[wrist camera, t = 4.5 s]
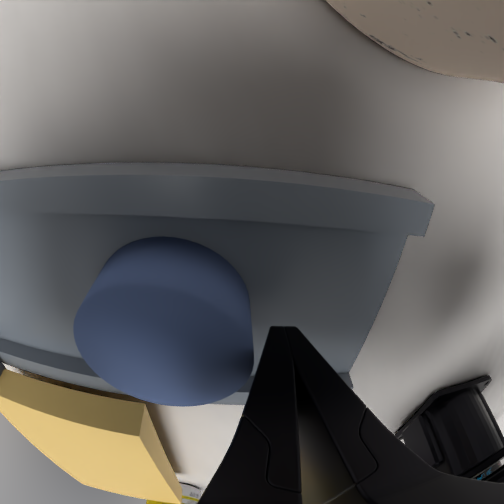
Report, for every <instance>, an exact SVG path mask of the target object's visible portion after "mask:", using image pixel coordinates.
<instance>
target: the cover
mask: <svg viewBox="0 0 504 504" xmlns="http://www.w3.org/2000/svg"><path fill="white" fill-rule="evenodd" d="M0 412H1V413H2V414H3V415H4V416H5V417H6V418H7V419H8V421H9V422H10V423H11V424H12V425H13V426H14V427H15V428H16V429H17V430H18V431H20V433H21V434H22V435H23V436H25V437H26V438H27V439H28V440H29V441H30V442H31V443H32V444H33V445H34V446H35V447H36V448H38V449H39V450H40V451H41V452H42V453H43V454H44V455H46V456H47V457H48V458H49V459H51V460H52V461H53V462H54V463H55V464H57V465H58V466H59V467H60V468H62V469H63V470H64V471H66V472H67V473H69V474H70V475H71V476H72V477H74V478H75V479H76V480H78V481H79V482H81V483H82V484H84V485H88V486H91V487H94V488H98V489H101V490H105V491H109V492H114V493H117V494H122V495H127V496H131V497H136V498H142V499H147V500H153V501H160V502H167V503H175V504H182V487H181V485H180V483H179V481H178V479H177V477H176V475H175V473H174V471H173V469H172V467H171V465H170V463H169V461H168V458H167V456H166V454H165V452H164V449H163V447H162V445H161V443H160V440H159V438H158V435H157V433H156V431H155V428H154V426H153V423H152V421H151V418H150V415H149V413H148V410H147V407H146V405H145V403H138V402H132V401H125V400H120V399H114V398H109V397H104V396H99V395H94V394H89V393H85V392H81V391H76V390H72V389H68V388H65V387H61V386H57V385H53V384H50V383H46V382H43V381H40V380H37V379H33V378H30V377H27V376H24V375H21V374H18V373H15V372H13V371H10V370H7V369H6V368H5V366H4V365H3V364H2V363H1V362H0Z"/></svg>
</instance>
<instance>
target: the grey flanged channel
mask: <svg viewBox="0 0 504 504" xmlns="http://www.w3.org/2000/svg"><path fill="white" fill-rule="evenodd" d="M434 205H435V204H434V203H432V202H431V201H429V200H428V199H427V198H425V197H424V196H422V195H421V194H419V193H418V192H416V191H415V190H414V189H409V188H404V187H398V186H393V185H388V184H382V183H376V182H370V181H364V180H358V179H352V178H345V177H338V176H331V175H324V174H316V173H308V172H299V171H290V170H281V169H270V168H259V167H247V166H233V165H216V164H195V163H156V162H127V163H89V164H70V165H54V166H42V167H31V168H21V169H12V170H4V171H0V362H2V363H5V364H7V365H10V366H13V367H16V368H19V369H22V370H25V371H28V372H31V373H35V374H38V375H41V376H45V377H48V378H52V379H55V380H59V381H63V382H67V383H71V384H75V385H79V386H84V387H88V388H93V389H98V390H103V391H108V392H113V393H119V394H125V395H128V394H126V393H124V392H122V391H120V390H118V389H116V388H115V387H113V386H112V385H110V384H109V383H107V382H106V381H105V380H103V379H102V378H101V377H99V376H98V375H97V374H96V373H95V372H94V371H93V370H92V369H91V368H90V367H89V365H88V364H87V363H86V362H85V360H84V359H83V357H82V356H81V354H80V352H79V350H78V348H77V345H76V343H75V338H74V332H73V325H74V319H75V316H76V313H77V311H78V309H79V307H80V306H81V304H82V302H83V300H84V299H85V297H86V295H87V293H88V292H89V290H90V288H91V286H92V285H93V283H94V281H95V280H96V278H97V276H98V275H99V273H100V271H101V270H102V268H103V267H104V265H105V263H106V262H107V261H108V259H109V258H110V257H111V256H112V255H113V254H114V253H115V252H116V251H117V250H119V249H120V248H121V247H123V246H125V245H127V244H129V243H131V242H133V241H136V240H139V239H143V238H149V237H162V236H165V237H176V238H181V239H186V240H189V241H192V242H195V243H198V244H201V245H203V246H205V247H207V248H209V249H211V250H213V251H214V252H216V253H218V254H219V255H220V256H222V257H223V258H224V259H225V260H227V261H228V262H229V263H230V264H231V265H232V266H233V267H234V268H235V269H236V271H237V272H238V273H239V275H240V276H241V278H242V280H243V281H244V283H245V285H246V288H247V291H248V294H249V299H250V310H251V322H252V335H253V347H254V366H253V371H252V373H251V375H250V377H249V379H248V380H247V382H246V383H245V384H244V385H243V386H242V387H241V388H240V389H239V390H238V391H236V392H235V393H233V394H232V395H230V396H228V397H226V398H224V399H221V400H219V401H216V402H213V403H209V404H228V405H245V404H246V401H247V398H248V395H249V392H250V389H251V386H252V383H253V379H254V376H255V373H256V370H257V367H258V364H259V361H260V358H261V354H262V351H263V348H264V345H265V341H266V338H267V335H268V332H269V328H270V327H271V326H283V327H284V326H296V327H297V328H298V329H299V330H300V331H301V332H302V333H303V334H304V336H305V337H306V338H307V339H308V340H309V341H310V343H311V344H312V345H313V346H314V347H315V348H316V349H317V351H318V352H319V353H320V354H321V355H322V356H323V357H324V359H325V360H326V361H327V362H328V363H329V364H330V365H331V367H332V368H333V369H334V370H335V371H336V372H337V373H338V375H339V376H340V377H341V378H342V379H343V380H344V381H345V383H346V384H347V385H348V386H349V387H350V388H351V389H353V384H352V381H351V378H350V375H349V371H350V369H351V367H352V366H353V364H354V362H355V360H356V358H357V356H358V354H359V352H360V350H361V348H362V346H363V344H364V342H365V340H366V338H367V335H368V333H369V331H370V329H371V327H372V325H373V323H374V320H375V318H376V316H377V314H378V311H379V309H380V307H381V304H382V302H383V300H384V297H385V295H386V292H387V290H388V288H389V285H390V283H391V280H392V277H393V275H394V272H395V270H396V267H397V264H398V262H399V259H400V256H401V253H402V251H403V248H404V245H405V242H406V239H407V236H408V235H414V236H423V237H424V236H425V233H426V230H427V227H428V224H429V221H430V218H431V215H432V212H433V209H434Z"/></svg>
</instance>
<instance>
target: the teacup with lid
mask: <svg viewBox="0 0 504 504" xmlns="http://www.w3.org/2000/svg"><path fill="white" fill-rule="evenodd" d="M326 1H327V2H328V3H329V4H330V5H331V6H332V7H333V8H334V9H335V10H336V11H337V12H338V13H339V14H340V15H342V16H343V17H344V18H345V19H346V20H347V21H348V22H350V23H351V24H352V25H353V26H355V27H356V28H357V29H358V30H360V31H361V32H362V33H364V34H365V35H366V36H368V37H369V38H370V39H372V40H373V41H375V42H376V43H378V44H379V45H381V46H382V47H384V48H385V49H387V50H388V51H390V52H392V53H394V54H395V55H397V56H399V57H400V58H402V59H404V60H406V61H408V62H410V63H412V64H414V65H417V66H419V67H421V68H424V69H426V70H429V71H432V72H435V73H439V74H443V75H447V76H453V77H460V78H471V79H480V80H488V81H495V82H501V83H504V0H326Z"/></svg>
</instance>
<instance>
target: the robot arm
mask: <svg viewBox="0 0 504 504" xmlns="http://www.w3.org/2000/svg"><path fill="white" fill-rule="evenodd" d="M491 380H492V379H491V377H490V376H489V375H488V376H485V377H482V378H479V379H476V380H473V381H470V382H467V383H464V384H461V385H457V386H454V387H450V388H447V389H443V390H440V391H437V392H436V393H434V394H433V395H432V396H431V397H430V398H429V399H428V400H427V402H426V403H425V404H424V405H423V406H422V407H421V408H420V409H419V411H418V412H417V413H416V414H415V415H414V416H413V417H412V418H411V419H410V420H409V421H408V422H407V423H406V424H405V425H404V426H403V427H402V428H401V429H400V430H399V431H398V432H397V433H396V434H395V435H394V434H393V433H392V432H390V431H389V430H388V429H387V428H386V427H385V426H384V425H383V424H382V423H381V421H380V420H379V419H378V418H377V417H376V416H375V415H374V414H373V413H372V412H371V411H370V409H369V408H366V405H365V404H364V403H363V402H362V401H361V400H360V398H359V397H358V396H357V395H356V394H355V393H354V392H353V390H352V389H351V388H350V387H349V386H348V385H347V384H346V383H345V381H344V380H343V379H342V378H341V377H340V376H339V375H338V373H337V372H336V371H335V370H334V369H333V368H332V367H331V365H330V364H329V363H328V362H327V361H326V360H325V359H324V357H323V356H322V355H321V354H320V353H319V352H318V351H317V349H316V348H315V347H314V346H313V345H312V344H311V343H310V341H309V340H308V339H307V338H306V337H305V336H304V334H303V333H302V332H301V331H300V330H299V329H298V328H297V327H296V326H284V327H283V326H271V327H270V328H269V332H268V335H267V338H266V341H265V345H264V348H263V351H262V354H261V358H260V361H259V364H258V367H257V370H256V373H255V376H254V379H253V383H252V386H251V389H250V392H249V395H248V398H247V401H246V404H245V407H244V410H243V413H242V417H241V418H240V421H239V424H238V427H237V430H236V432H235V435H234V437H233V440H232V442H231V445H230V447H229V449H228V451H227V453H226V454H225V456H224V458H223V460H222V462H221V464H220V466H219V467H218V469H217V471H216V473H215V474H214V476H213V478H212V479H211V481H210V483H209V484H208V486H207V488H206V489H205V491H204V493H203V494H202V496H201V498H200V499H199V501H198V502H197V504H504V465H502V466H501V467H499V468H498V469H496V470H495V471H493V472H492V473H490V474H489V475H487V476H486V477H484V478H482V479H481V480H475V479H473V478H474V477H476V476H478V475H479V474H481V473H482V472H484V471H485V470H487V469H489V468H490V467H492V466H493V465H494V464H496V463H497V462H499V461H500V460H502V459H503V458H504V437H503V435H502V432H501V430H500V428H499V426H498V424H497V422H496V420H495V418H494V416H493V414H492V412H491V410H490V408H489V406H488V404H487V402H486V400H485V399H484V397H483V395H482V393H481V392H482V391H483V390H484V389H485V388H486V386H487V385H488V384H489V383H490V382H491ZM401 439H404V442H405V444H404V443H402V442H401V441H400V440H401Z"/></svg>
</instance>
